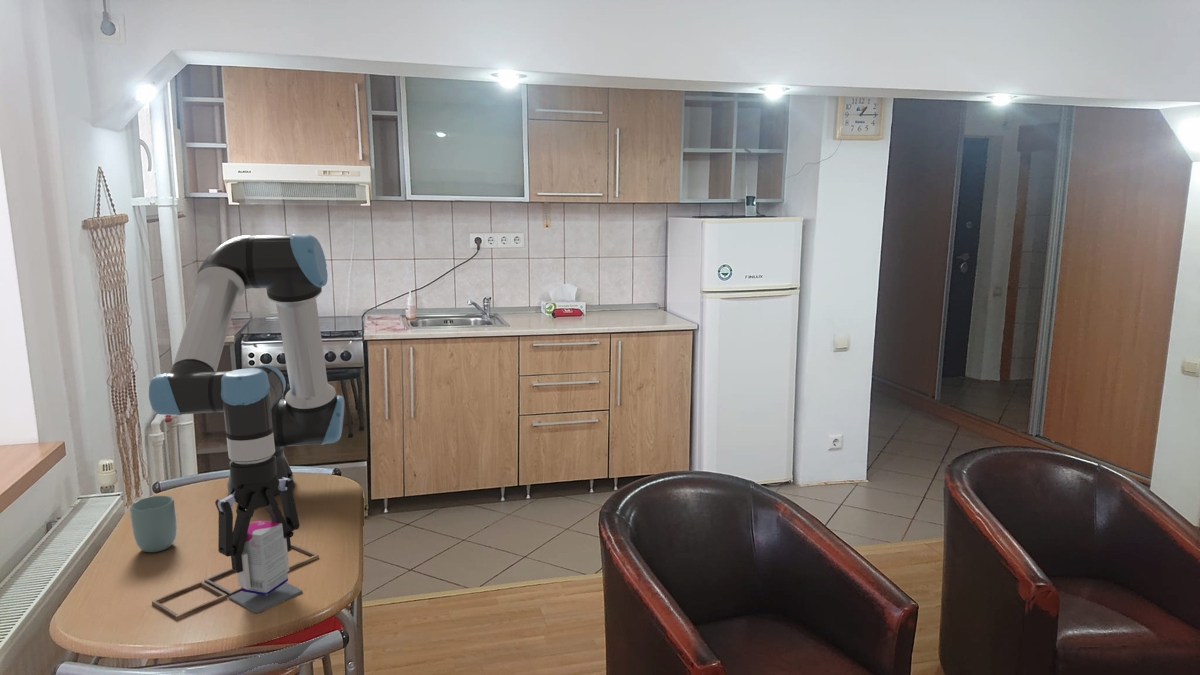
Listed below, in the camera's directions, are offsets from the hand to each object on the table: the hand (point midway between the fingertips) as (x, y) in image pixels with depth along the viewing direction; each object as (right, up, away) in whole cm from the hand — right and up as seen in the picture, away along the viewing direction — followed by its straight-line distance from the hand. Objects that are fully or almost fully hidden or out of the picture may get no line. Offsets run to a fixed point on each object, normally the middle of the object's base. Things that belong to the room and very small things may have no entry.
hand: (264, 577), depth 142 cm
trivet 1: (-13, -4, -1) cm, 14 cm away
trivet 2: (-2, -1, +14) cm, 14 cm away
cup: (-31, 0, +20) cm, 37 cm away
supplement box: (0, -2, 0) cm, 2 cm away
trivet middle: (-7, -2, +6) cm, 10 cm away
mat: (0, -3, +1) cm, 3 cm away
